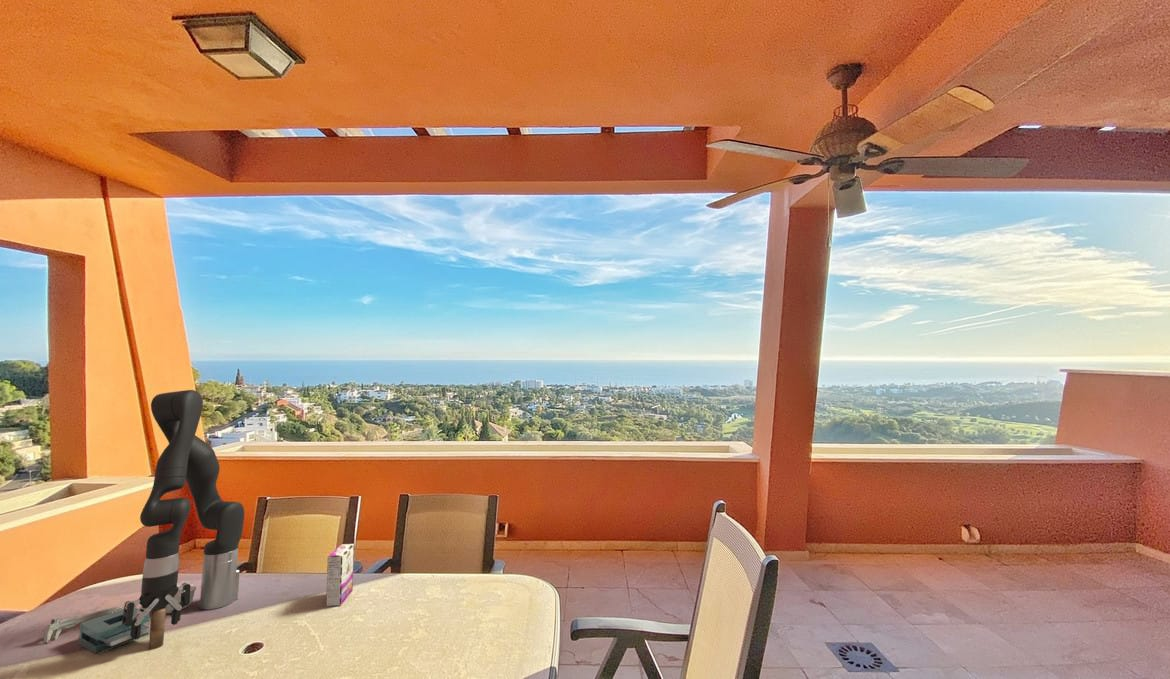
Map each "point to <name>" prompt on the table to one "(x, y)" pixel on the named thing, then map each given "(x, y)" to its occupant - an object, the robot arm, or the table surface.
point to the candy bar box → (339, 575)
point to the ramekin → (178, 598)
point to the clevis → (108, 631)
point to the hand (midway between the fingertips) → (155, 630)
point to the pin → (157, 628)
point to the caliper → (71, 623)
